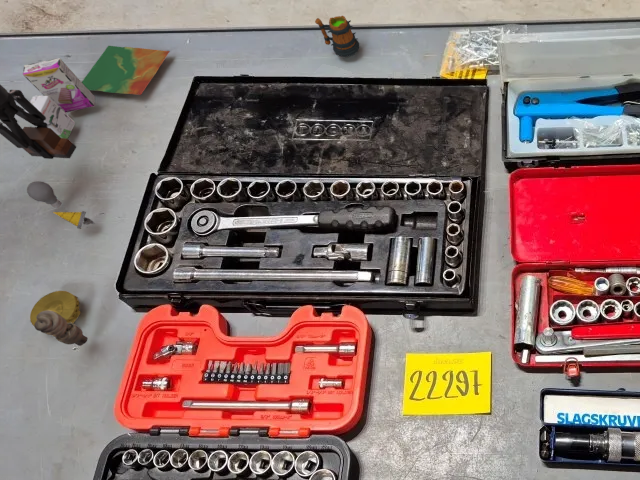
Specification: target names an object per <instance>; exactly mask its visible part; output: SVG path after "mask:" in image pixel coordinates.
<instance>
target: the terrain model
mask: <svg viewBox="0 0 640 480" xmlns="http://www.w3.org/2000/svg"><path fill="white" fill-rule="evenodd" d="M169 53H170V50H160V49H152V48H143V47H131V46H115V45H108V46H106V48H105V50H104V51H103V52H102V54H101V55H100V57H99V58H98V59H97V60H96V62H95V63H94V64H93V65H92V67H91V69H90V70H89V71H88V72H87V74H86V75H85V77H84V78H83V80H82V81H81V82H82V83H83V84H84V85H85V86H86V88H87V89H88V90H89V91H96V92H104V93H111V94H125V95H129V94H130V95H137V96H138V95H139V96H141V95H142V94H143V93H144V91H145V90H146V88H147V87H148V85H149V84H150V83H151V81H152V80H153V78H154V76H156V73H157V72H158V70H159V69H160V67H161V65H163V63H164V61H165V60H166V58H167V57H168V55H169Z"/></svg>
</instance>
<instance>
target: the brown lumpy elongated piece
mask: <svg viewBox="0 0 640 480" xmlns="http://www.w3.org/2000/svg"><path fill="white" fill-rule="evenodd" d="M36 319H37V321H36V322H35V325H34V326H33V327H34V329H35V330H36V331H38V332H41V333H43V334H46V335H47V336H52V337H55V340H56V341H58V342H60V343H62V344H65V345H77V346H80V347H81V346H83V345H84V344H86V343H87V342H88V337H87V336H86V335H84V332H83V329H82V328H80V327H79V326H78V325H77V324H75V323H67V321H66V320H65V319H64V318H63V317H61V316H60V315H59V314H57V313H56V312H54V311H50V310H46V311H42V312H40V313H39V314H38V315H37V317H36Z"/></svg>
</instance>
